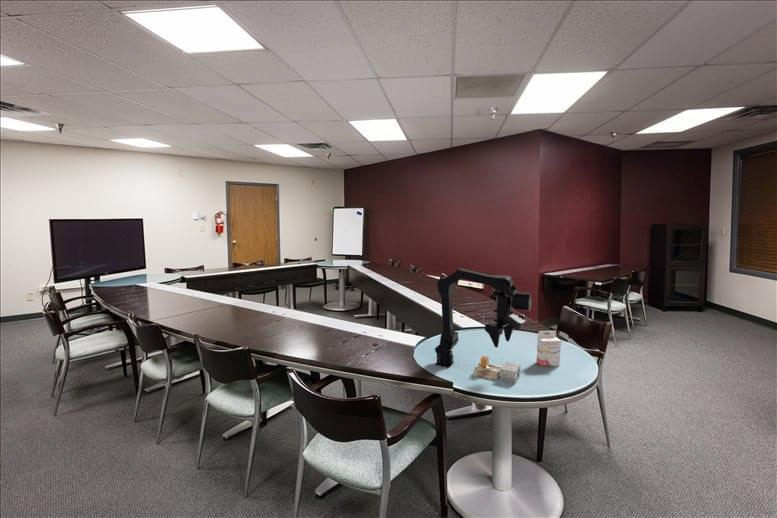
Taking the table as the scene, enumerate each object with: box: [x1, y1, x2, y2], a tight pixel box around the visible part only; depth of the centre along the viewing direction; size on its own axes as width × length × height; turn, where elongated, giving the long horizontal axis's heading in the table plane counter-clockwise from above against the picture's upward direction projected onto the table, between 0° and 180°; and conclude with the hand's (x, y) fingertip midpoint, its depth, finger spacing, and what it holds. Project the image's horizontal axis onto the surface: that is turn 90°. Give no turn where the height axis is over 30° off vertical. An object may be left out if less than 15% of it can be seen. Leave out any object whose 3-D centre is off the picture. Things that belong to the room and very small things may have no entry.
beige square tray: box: [472, 361, 502, 381], centre depth 160 cm, size 10×10×3 cm
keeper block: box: [499, 361, 521, 385], centre depth 155 cm, size 6×8×5 cm
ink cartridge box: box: [536, 330, 562, 367], centre depth 167 cm, size 9×5×15 cm, turn 92°
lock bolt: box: [480, 355, 502, 375], centre depth 159 cm, size 8×3×5 cm, turn 59°
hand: (502, 344), depth 155 cm, fingers open, 9 cm apart
